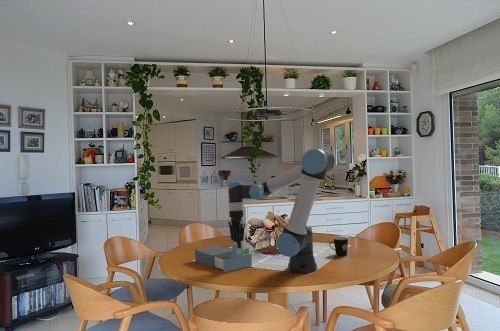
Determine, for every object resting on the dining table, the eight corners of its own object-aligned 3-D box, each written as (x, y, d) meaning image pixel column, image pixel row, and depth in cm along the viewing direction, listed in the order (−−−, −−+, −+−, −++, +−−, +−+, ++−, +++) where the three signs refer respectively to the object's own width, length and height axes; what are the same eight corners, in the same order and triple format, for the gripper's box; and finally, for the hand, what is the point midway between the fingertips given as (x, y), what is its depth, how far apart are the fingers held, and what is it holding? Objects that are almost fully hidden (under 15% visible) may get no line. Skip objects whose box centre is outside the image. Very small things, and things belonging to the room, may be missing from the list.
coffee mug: (347, 253, 216) (346, 236, 216) (350, 256, 207) (349, 239, 208) (328, 253, 217) (327, 237, 217) (330, 256, 209) (329, 239, 209)
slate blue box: (239, 262, 204) (239, 250, 204) (212, 268, 193) (212, 255, 193) (221, 256, 220) (220, 245, 220) (195, 261, 209) (194, 249, 209)
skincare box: (241, 257, 215) (240, 231, 216) (233, 256, 219) (232, 231, 220) (250, 254, 222) (249, 229, 222) (241, 253, 226) (241, 228, 226)
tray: (252, 265, 194) (251, 241, 194) (224, 272, 183) (223, 246, 183) (232, 259, 210) (231, 236, 210) (205, 265, 199) (204, 241, 199)
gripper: (249, 210, 186) (251, 254, 186) (234, 208, 197) (236, 250, 197) (237, 211, 182) (239, 257, 181) (223, 209, 193) (224, 252, 192)
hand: (237, 253), depth 189 cm, fingers closed on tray
